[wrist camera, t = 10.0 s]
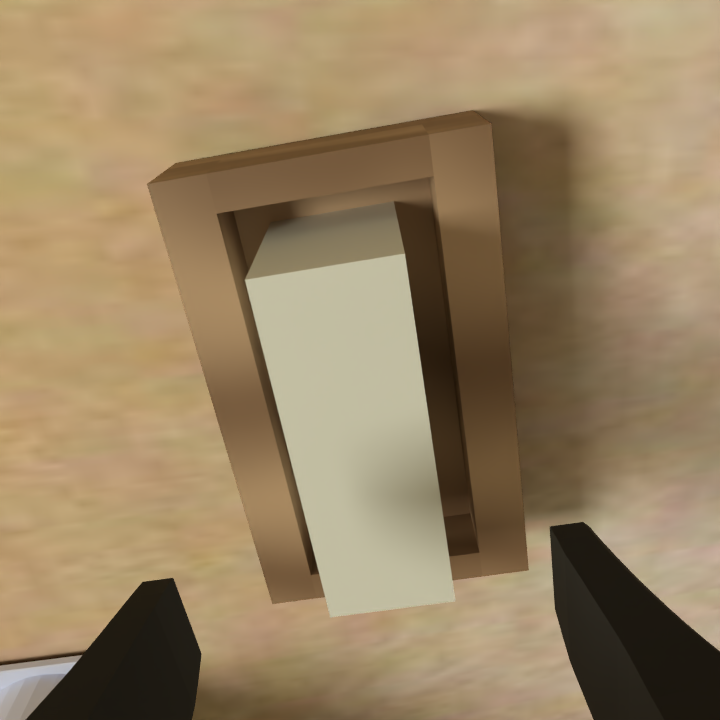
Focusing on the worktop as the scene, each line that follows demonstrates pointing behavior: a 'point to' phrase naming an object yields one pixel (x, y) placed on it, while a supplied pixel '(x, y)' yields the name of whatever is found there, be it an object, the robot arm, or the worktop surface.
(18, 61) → the worktop surface
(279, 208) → the wooden tray
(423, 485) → the white rectangular block
